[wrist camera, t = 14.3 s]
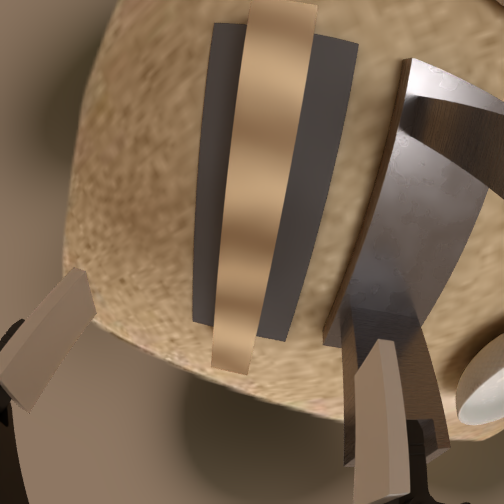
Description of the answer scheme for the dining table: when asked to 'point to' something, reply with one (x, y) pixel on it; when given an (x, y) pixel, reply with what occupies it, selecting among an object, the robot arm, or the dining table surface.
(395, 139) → the stand
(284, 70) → the maple rail
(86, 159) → the dining table surface
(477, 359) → the cereal bowl
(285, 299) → the black rubber mat
